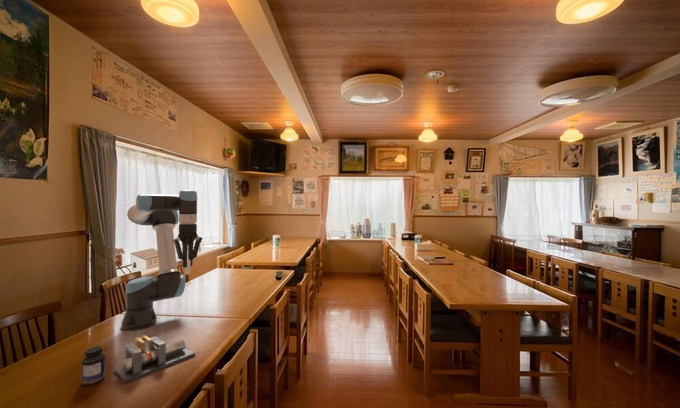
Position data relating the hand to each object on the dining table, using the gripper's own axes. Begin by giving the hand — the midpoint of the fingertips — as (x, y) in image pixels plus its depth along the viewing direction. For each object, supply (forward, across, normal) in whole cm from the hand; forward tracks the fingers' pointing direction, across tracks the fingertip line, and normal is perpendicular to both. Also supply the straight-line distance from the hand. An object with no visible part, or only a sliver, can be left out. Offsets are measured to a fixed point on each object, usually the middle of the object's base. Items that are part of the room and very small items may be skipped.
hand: (187, 273), depth 137 cm
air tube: (+28, -18, -14) cm, 36 cm away
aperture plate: (+28, -22, -12) cm, 38 cm away
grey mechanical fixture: (+29, -18, -14) cm, 37 cm away
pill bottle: (+30, -36, -9) cm, 48 cm away
